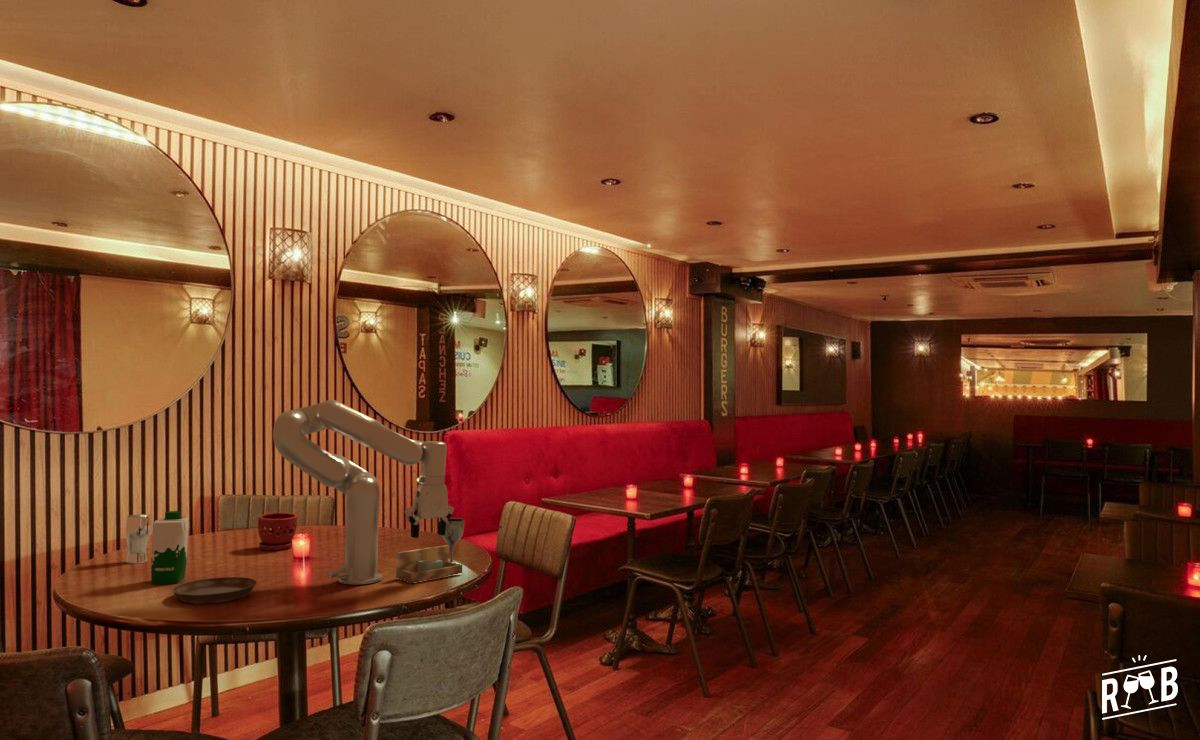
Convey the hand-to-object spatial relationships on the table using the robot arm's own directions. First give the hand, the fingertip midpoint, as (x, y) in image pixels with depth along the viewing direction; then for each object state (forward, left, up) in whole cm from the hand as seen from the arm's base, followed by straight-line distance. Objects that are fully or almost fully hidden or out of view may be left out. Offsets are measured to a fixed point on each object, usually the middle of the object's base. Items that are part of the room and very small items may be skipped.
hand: (428, 536), depth 233 cm
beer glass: (-58, +81, -13) cm, 100 cm away
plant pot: (-15, +74, -13) cm, 76 cm away
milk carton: (-59, +46, -13) cm, 76 cm away
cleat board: (+1, 0, -13) cm, 13 cm away
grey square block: (+1, 0, -13) cm, 13 cm away
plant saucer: (-55, +20, -13) cm, 60 cm away
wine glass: (+16, +10, -13) cm, 22 cm away
